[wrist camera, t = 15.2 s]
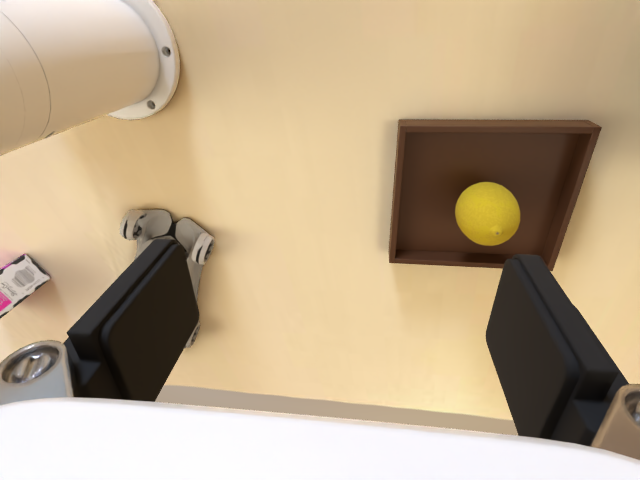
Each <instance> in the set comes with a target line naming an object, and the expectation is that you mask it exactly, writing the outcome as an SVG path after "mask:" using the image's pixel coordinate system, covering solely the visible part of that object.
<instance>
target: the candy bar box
mask: <svg viewBox="0 0 640 480" xmlns="http://www.w3.org/2000/svg"><path fill="white" fill-rule="evenodd" d="M50 279H51V277H50V276H49V275H48V274H47V273H46V272H45V271H44V270H43V269H42V268H41V267H40V266H39V265H38V264H37V263H36V262H35V261H34V260H33V259H32V258H30V257H29V256H28V255H27V254H23V255H22V256H20V257H18V258H17V259H15V260H13V261H12V262H10V263H9V264H7V265H5V266H4V267H2V268H0V318H2V317H3V316H4V315H5V314H7V313H8V312H9V311H11V310H12V309H13V308H14V307H15V306H17V305H18V304H19V303H21V302H22V301H23V300H24V299H26V298H27V297H28V296H29V295H31V294H32V293H33V292H34V291H36V290H37V289H38V288H39V287H41V286H42V285H43V284H44V283H46V282H47V281H48V280H50Z"/></svg>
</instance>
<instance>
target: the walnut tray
mask: <svg viewBox="0 0 640 480" xmlns="http://www.w3.org/2000/svg"><path fill="white" fill-rule="evenodd" d="M600 131H601V127H600V126H598V125H596V124H595V123H593V122H591V121H589V120H399V122H398V135H397V148H396V161H395V175H394V188H393V201H392V214H391V228H390V241H389V263H403V264H424V265H444V266H465V267H486V268H503V267H504V264H505V261H506V260H507V259H512V257H513V256H514V255H515V254H527V255H539V256H540V257H541V259H542V260H543V262H544V263H545V265H546V266H547V268H548V269H549V271H553V268H554V265H555V262H556V259H557V256H558V253H559V251H560V248H561V245H562V242H563V239H564V236H565V233H566V230H567V227H568V224H569V221H570V218H571V215H572V212H573V210H574V207H575V204H576V201H577V198H578V195H579V192H580V189H581V186H582V183H583V180H584V177H585V174H586V171H587V169H588V166H589V163H590V160H591V157H592V154H593V151H594V148H595V145H596V142H597V139H598V136H599V133H600ZM480 182H492V183H496V184H499V185H502V186H503V187H505V188H506V189H507V190H509V191H510V192H511V193H512V194H513V196H514V197H515V199H516V200H517V202H518V205H519V209H520V223H519V226H518V229H517V231H516V232H515V234H514V235H513V236H512V237H511V238H510V239H509V240H507V241H505V242H504V243H501V244H499V245H493V246H485V245H481V244H477V243H475V242H473V241H472V240H470V239H469V238H468V237H467V236H466V235H465V234H464V233H463V232H462V231H461V229H460V228H459V226H458V224H457V221H456V216H455V208H456V203H457V200H458V198H459V197H460V195H461V194H462V192H463V191H465V190H466V189H467V188H468V187H470V186H472V185H474V184H477V183H480Z"/></svg>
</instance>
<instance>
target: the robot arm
mask: <svg viewBox="0 0 640 480" xmlns="http://www.w3.org/2000/svg"><path fill="white" fill-rule="evenodd" d="M168 49H170V51H171V54H170V53H169V51H168ZM179 75H180V59H179V52H178V46H177V43H176V40H175V37H174V34H173V32H172V29H171V27H170V25H169V23H168V21H167V19H166V18H165V16H164V15H163V13H162V12H161V10H160V9H159V8H158V6H157V5H156V4H155V3H154V2H153V1H152V0H0V156H1V155H3V154H6V153H8V152H11V151H13V150H16V149H19V148H21V147H24V146H26V145H29V144H32V143H34V142H37V141H39V140H42V139H45V138H47V137H50V136H52V135H55V134H58V133H60V132H63V131H65V130H68V129H71V128H73V127H76V126H78V125H81V124H84V123H86V122H89V121H91V120H94V119H96V118H99V117H102V116H104V115H108V116H111V117H115V118H118V119H124V120H137V119H143V118H146V117H148V116H151V115H153V114H155V113H157V112H159V111H160V110H161V109H162V108H164V107H165V106H166V105H167V104H168V102H169V101H170V100H171V98H172V97H173V95H174V93H175V90H176V88H177V85H178V80H179ZM154 103H155V104H154ZM198 320H199V310H198V306H197V302H196V298H195V293H194V289H193V285H192V281H191V276H190V272H189V268H188V264H187V260H186V255H185V251H184V248H183V246H182V245H181V244H178V242H177V241H176V240H174V239H155V240H153V241H152V242H151V243H150V245H149V246H148V247H147V248H146V249H145V250H144V251H143V252H142V253H141V254H140V255H139V256H138V257H137V258H136V259H135V260H134V262H133V263H132V264H131V265H130V266H129V267H128V268H127V269H126V270H125V271H124V272H123V273H122V274H121V275H120V276H119V277H118V279H117V280H116V281H115V282H114V283H113V284H112V285H111V286H110V287H109V288H108V289H107V290H106V291H105V292H104V293H103V294H102V296H101V297H100V298H99V299H98V300H97V301H96V302H95V303H94V304H93V305H92V306H91V307H90V308H89V309H88V310H87V311H86V313H85V314H84V315H83V316H82V317H81V318H80V319H79V320H78V321H77V322H76V323H75V324H74V325H73V326H72V327H71V328H70V330H69V331H68V332H67V334H68V336H69V338H68V339H67V340H66V341H65V342H64V343H63V344H62V343H61V342H59V341H53V340H47V341H40V342H36V343H32V344H29V345H27V346H25V347H23V348H20V349H19V350H17V351H15V352H14V353H12V354H11V355H9V356H8V357H7V358H6V359H4V360H3V361H2V362H1V363H0V480H640V384H629V383H628V382H627V380H626V379H625V377H624V376H623V374H622V373H621V371H620V370H619V369H618V367H617V366H616V364H615V363H614V361H613V360H612V358H611V357H610V356H609V354H608V353H607V351H606V350H605V348H604V347H603V345H602V344H601V342H600V341H599V340H598V338H597V337H596V335H595V334H594V332H593V331H592V329H591V328H590V327H589V325H588V324H587V322H586V321H585V319H584V318H583V316H582V315H581V313H580V312H579V311H578V309H577V308H576V307H575V306H574V305H573V304H572V303H571V301H570V300H569V298H568V297H567V296H566V294H565V293H564V291H563V290H562V288H561V287H560V285H559V284H558V282H557V281H556V279H555V278H554V276H553V275H552V274H551V272H550V271H549V269H548V268H547V266H546V265H545V263H544V262H543V260H542V259H541V257H540V256H539V255H527V254H515V255H514V256H513V257H512V259H507V260H506V261H505V264H504V267H503V271H502V275H501V278H500V282H499V286H498V289H497V293H496V297H495V300H494V304H493V308H492V311H491V315H490V319H489V322H488V326H487V330H486V342H487V345H488V348H489V351H490V354H491V357H492V360H493V363H494V366H495V368H496V371H497V374H498V377H499V380H500V383H501V386H502V389H503V391H504V394H505V397H506V400H507V403H508V406H509V409H510V412H511V415H512V417H513V420H514V423H515V426H516V429H517V432H518V435H519V436H516V435H507V434H498V433H489V432H480V431H471V430H461V429H451V428H441V427H430V426H419V425H409V424H398V423H388V422H378V421H367V420H356V419H345V418H333V417H324V416H313V415H301V414H290V413H279V412H267V411H257V410H256V411H255V410H244V409H233V408H222V407H209V406H198V405H185V404H174V403H162V402H155V400H156V398H157V396H158V394H159V393H160V391H161V389H162V387H163V385H164V383H165V382H166V380H167V378H168V376H169V374H170V373H171V371H172V369H173V367H174V365H175V364H176V362H177V360H178V358H179V356H180V354H181V353H182V351H183V349H184V347H185V345H186V344H187V342H188V340H189V338H190V336H191V335H192V333H193V331H194V329H195V327H196V325H197V323H198Z"/></svg>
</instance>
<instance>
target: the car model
mask: <svg viewBox="0 0 640 480" xmlns="http://www.w3.org/2000/svg"><path fill="white" fill-rule="evenodd" d="M120 234H121V235H122V237H124V238H125V239H128V240H137V252H136V256H135V259H136V258H137V257H138V256H139V255H140V254H141V253H142V252H143V251H144V250H145V249H146V248H147V247H148V246H149V245H150V243H151V242H152V241H153V240H155V239H174V240H176V241H177V242H178V244H181V245H182V246H183V248H184V251H185V255H186V260H187V264H188V268H189V272H190V276H191V281H192V285H193V289H194V293H195V298H196V302H197V297H198V287H199V281H200V275H201V271H202V267H203V265H204V264H205V263H206V262H207V260H208V259H209V257H210V255H211V252H212V249H213V246H214V241H215V239H214V237H213V236H211V235H209V234H208V233H207V232H206V231H205V230H203V229H202V228H201V227H200V226H199V225H197V224H196V223H195V222H193V221H192V220H190V219H188V218H182V219H181V220H180V221H179V222H177V223H176V224H175V223H173V221H172V218H171V215H170V213H169V212H167V211H165V210H133V209H132V210H129V211H128V212H127V213H126V214H125V216H124V218H123V220H122V222H121V225H120ZM199 329H200V322H199V320H198V323H197V325H196V327H195V329H194V331H193V333H192V335H191V336H190V338H189V340H188V342H187V344H186V345H185V347H184V348H186V347H191V346H192V345H193V343H194V341H195V339H196V336H197V334H198V331H199Z"/></svg>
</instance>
